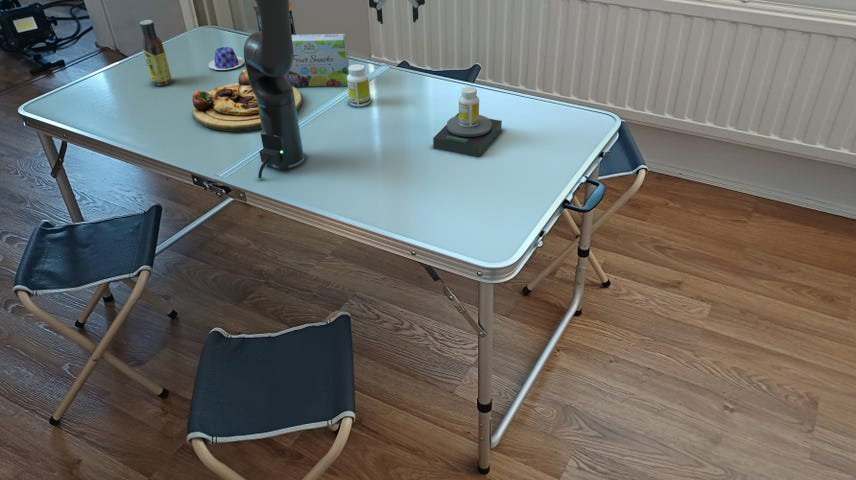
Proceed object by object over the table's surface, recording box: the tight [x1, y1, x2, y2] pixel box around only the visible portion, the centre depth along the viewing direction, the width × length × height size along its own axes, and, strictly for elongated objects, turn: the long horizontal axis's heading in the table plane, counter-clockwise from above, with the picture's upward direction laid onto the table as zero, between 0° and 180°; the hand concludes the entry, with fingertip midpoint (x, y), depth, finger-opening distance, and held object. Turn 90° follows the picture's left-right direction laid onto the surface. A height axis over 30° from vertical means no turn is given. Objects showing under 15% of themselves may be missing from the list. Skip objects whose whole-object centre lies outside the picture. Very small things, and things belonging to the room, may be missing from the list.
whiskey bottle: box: [252, 1, 297, 35], centre depth 233 cm, size 10×10×32 cm
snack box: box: [285, 33, 350, 88], centre depth 224 cm, size 21×6×15 cm, turn 89°
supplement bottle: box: [458, 86, 480, 127], centre depth 191 cm, size 5×5×10 cm
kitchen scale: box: [432, 112, 503, 158], centre depth 194 cm, size 16×13×4 cm
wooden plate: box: [191, 69, 303, 132], centre depth 213 cm, size 32×32×8 cm
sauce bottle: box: [139, 19, 172, 87], centre depth 227 cm, size 7×6×20 cm
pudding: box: [208, 46, 245, 71], centre depth 242 cm, size 12×12×5 cm
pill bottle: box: [347, 63, 371, 108], centre depth 213 cm, size 6×6×11 cm
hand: (398, 22), depth 188 cm, fingers open, 8 cm apart
